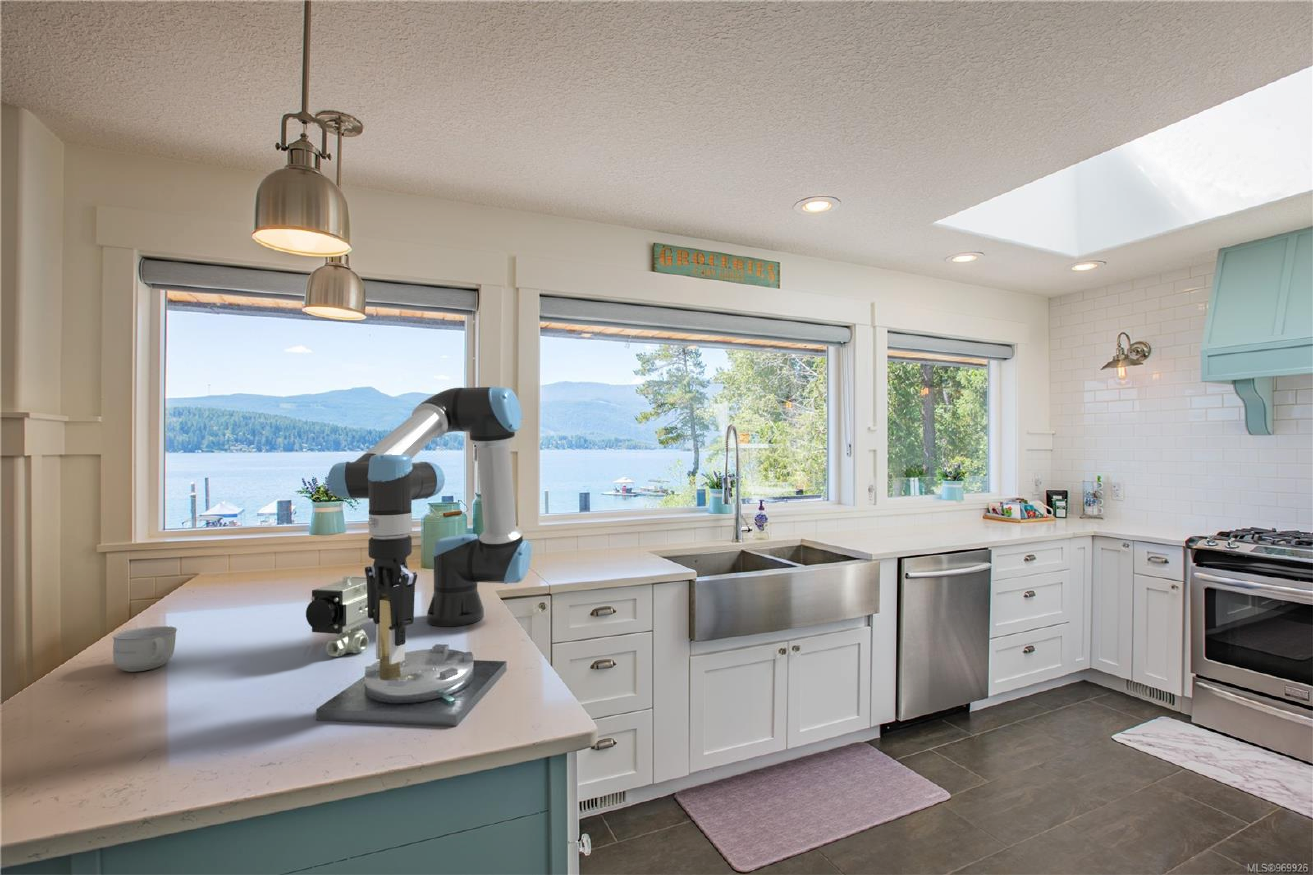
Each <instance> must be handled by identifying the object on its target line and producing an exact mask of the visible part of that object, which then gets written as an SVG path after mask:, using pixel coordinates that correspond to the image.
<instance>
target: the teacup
mask: <svg viewBox="0 0 1313 875" xmlns="http://www.w3.org/2000/svg"><path fill="white" fill-rule="evenodd" d="M177 631H178V629H177V627H175V626H167V625H166V626H165V625H163V626H162V625H161V626H159V625H158V626H147V627H139V628H133V629H128V630H124V631H120V632H117V633H116V634H114V635H113V636H112V639H113V644H112V660H113V663H114V665H115V666H116V667H118V668H120V669H122V670H123V671H124V672H127V673H129V672H131V673H132V672H136V673H137V672H143V671H149V670H154V669H157V668H160V667H162V666H163V665H164V664H165V663H166V662H168V661H169V660H170V659H171V658H172V657H173V655H174V652H175V649H176V648H175V646H176V637H177V636H176V635H177V634H176V633H177Z"/></svg>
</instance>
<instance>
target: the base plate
mask: <svg viewBox="0 0 1313 875" xmlns="http://www.w3.org/2000/svg"><path fill="white" fill-rule="evenodd" d="M507 669H508V668H507V660H482V659H481V660H479V659H478V660H477V659H473V679H472V681H471V682H470V683H469V684H468V685H467V686H465V687H464V688H462V689H460V690H459V691H456V692H454V693H452V694H449V695H448V694H447V695H443V696H441V697H440V698H436V699H431V700H426V701H420V702H411V703H388V702H382V701H377V700H374V699H372V698H370V697H369V696H367V695H366V693H365V675H364V676H363V677H362V678H360V679H358V680H357V681H355V682H354V683H352V684H351V685H349V686H347V687H346V688H345V689H343V690H342V691H340V692H339V693H338V694H336V695H335V696H333V697H332V698H330V699H328V700H327V701H326V702H324V703H323V704H321V705H320V706H318V707H317V708H316V710H315V711H316V714H315V716H316V717H315V718H316V720H315V721H323V722H324V721H327V722H328V721H331V722H348V723H349V722H350V723H351V722H353V723H373V724H395V725H396V724H397V725H417V726H418V725H419V726H438V727H439V726H442V727H443V726H445V727H458V726H459V724H460V723H461V722H462V721H463V720H464V719H465V718H466V717H467V716H468V714H469V713H470V712H471V711H472V710H473V709H474V707H475V706H476V705H477V704H478V703H479V702H480V701H481V700H482V699H483V697H484V696H486V694H487V693H488V692H489V691H490V690H491V689H492V688H493V687H494V685H495V684H496V683H497V682H498V681H499V680H500V678H501V677H503V675H504V674H505V673H506V672H507V671H508V670H507Z"/></svg>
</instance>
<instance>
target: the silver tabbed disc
mask: <svg viewBox="0 0 1313 875" xmlns="http://www.w3.org/2000/svg"><path fill="white" fill-rule="evenodd" d="M390 626H392V618H391V609H390V599H389V597H386V598H382V599H380V659H379V660H377V661H376V662H374V663H373V664H371V665H367V666H364V668H365V671H364V676H365V693H366V695H367V696H369V697H370V698H372V699H374V700H377V701H382V702H388V703H411V702H420V701H426V700H431V699H436V698H440V697H441V696H443V695H447V694H448V695H449V694H452V693H454V692H456V691H459V690H460V689H462V688H464V687H465V686H467V685H468V684H469V683H470V682H471V681H472V679H473V660H474V655H473V652H472V651H467V652H464V651H461V650H456V649H450V648H449V647H450V644H442V643H441V644H438V643H437V644H434V645H433V646H432V648H428V649H418V650H412V651H410V650H409V651H405V660H403V661H400V662H397V663H394V664H389V627H390Z"/></svg>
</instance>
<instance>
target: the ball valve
mask: <svg viewBox="0 0 1313 875" xmlns="http://www.w3.org/2000/svg"><path fill="white" fill-rule="evenodd" d="M310 600H311V602H310V603H309V604H308V605H307V607H306V611H305V618H306V621H307V623H308V625H309V626H310V627H311V632H312V633H316V634H317V633H319V634H333V635H334V634H335V636H333V637H331V638H330V639H329V641H328V642H326V643H327V644H326V646H325V650H326V653H327V655H328V656H329V657H342V656H344V655H346V654H359V653H363V652H364V651H366V650H367V649H368V646H369V644H370V643H369V642H370V640H369V637H368V635H367V634H366V632H365V630H364V628H360V627H361V626H362V625H363V624H366V623H368V622H370V621H373V619H372V618H368V606H367V579H366V577H362V576H361V577H358V576H353V577H351V576H349V575H346V576H344V577H342V580H340V581H337V582H334V583H330V584H328V585H325V586H322V587H318V588H314V589H312V590H311V598H310ZM373 611H374V610H373Z"/></svg>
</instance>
